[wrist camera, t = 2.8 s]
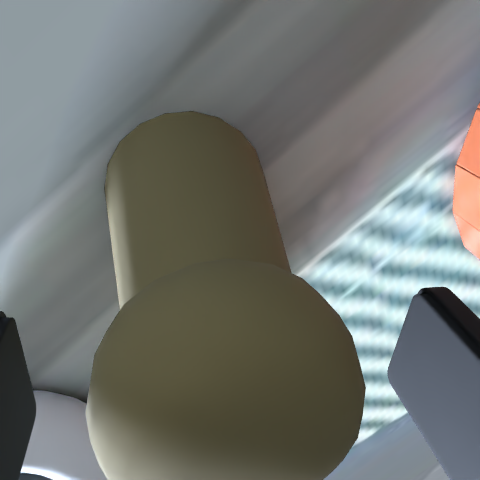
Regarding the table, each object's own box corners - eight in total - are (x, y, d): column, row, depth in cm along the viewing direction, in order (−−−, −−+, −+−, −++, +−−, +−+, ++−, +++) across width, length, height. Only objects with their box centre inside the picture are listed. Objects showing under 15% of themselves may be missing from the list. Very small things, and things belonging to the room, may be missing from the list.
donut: (164, 437, 24) (34, 341, 18) (167, 500, 21) (14, 410, 15) (23, 511, 25) (-141, 442, 19) (8, 581, 22) (-190, 524, 16)
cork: (77, 134, 14) (-52, 424, 5) (250, 93, 14) (438, 286, 5) (135, 272, 17) (123, 601, 8) (273, 235, 18) (413, 508, 8)
